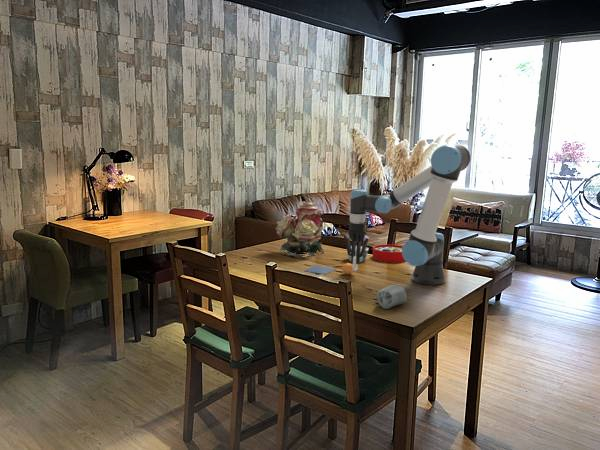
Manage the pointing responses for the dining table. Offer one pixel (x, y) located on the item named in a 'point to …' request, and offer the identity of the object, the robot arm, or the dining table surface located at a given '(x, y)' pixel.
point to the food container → (362, 256)
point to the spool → (391, 296)
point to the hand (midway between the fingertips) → (354, 270)
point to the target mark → (320, 270)
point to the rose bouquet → (302, 230)
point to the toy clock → (388, 253)
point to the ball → (348, 268)
